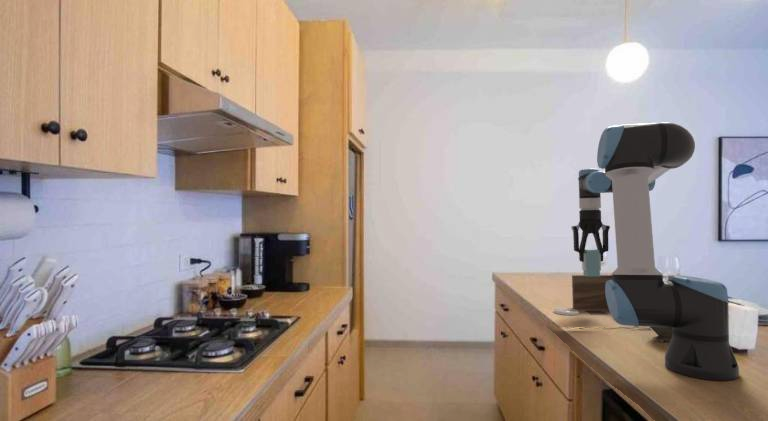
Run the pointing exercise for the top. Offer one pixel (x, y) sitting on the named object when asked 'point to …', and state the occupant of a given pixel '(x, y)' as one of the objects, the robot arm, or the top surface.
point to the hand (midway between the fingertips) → (591, 269)
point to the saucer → (566, 311)
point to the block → (592, 262)
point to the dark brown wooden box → (590, 293)
